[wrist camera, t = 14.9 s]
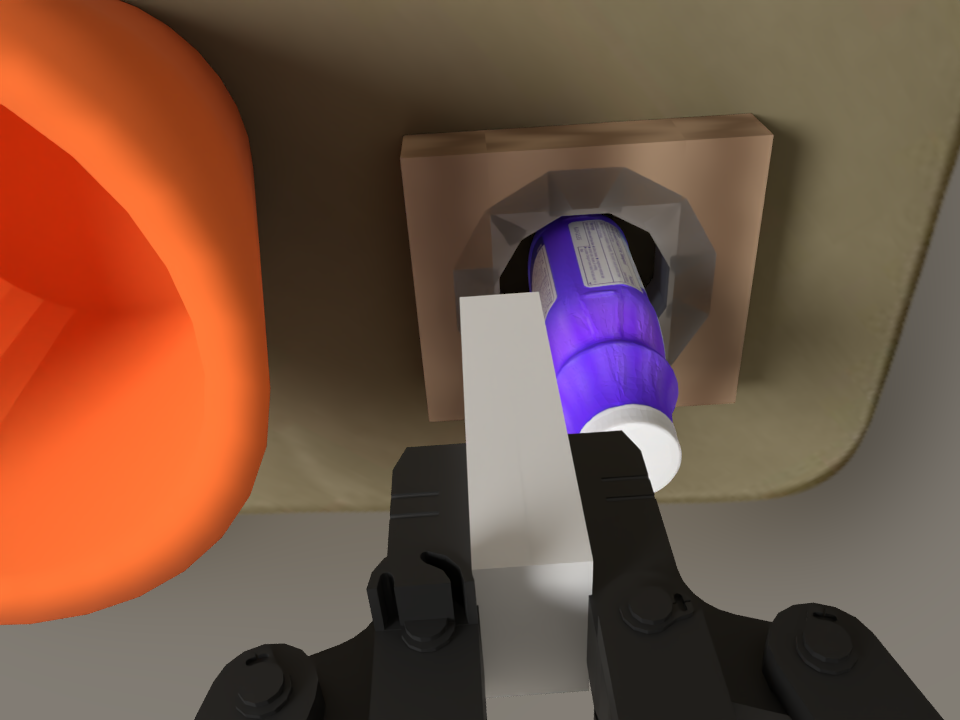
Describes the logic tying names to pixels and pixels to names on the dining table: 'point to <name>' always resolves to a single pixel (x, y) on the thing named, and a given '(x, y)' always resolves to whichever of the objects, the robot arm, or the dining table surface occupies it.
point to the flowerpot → (120, 308)
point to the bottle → (605, 338)
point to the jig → (593, 190)
